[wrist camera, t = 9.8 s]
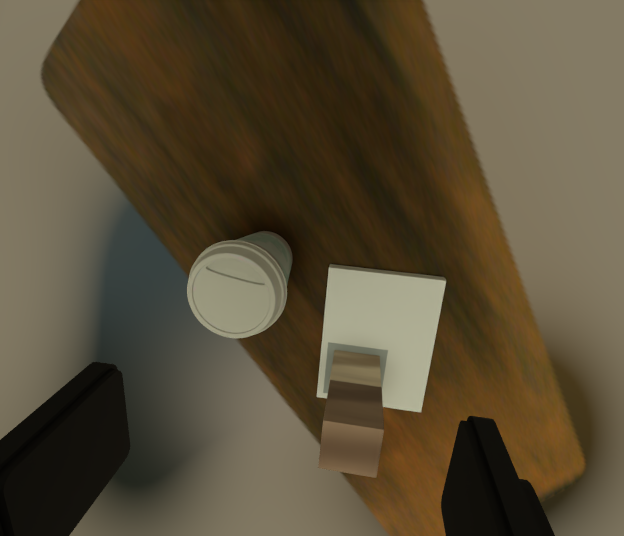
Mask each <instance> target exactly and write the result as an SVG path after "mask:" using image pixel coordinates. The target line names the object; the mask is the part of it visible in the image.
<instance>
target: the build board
mask: <svg viewBox="0 0 624 536" xmlns="http://www.w3.org/2000/svg"><path fill="white" fill-rule="evenodd" d="M445 285H446V279H445V278H444V277H440V276H431V275H422V274H413V273H404V272H395V271H387V270H378V269H369V268H360V267H351V266H343V265H334V264H330V266H329V272H328V282H327V293H326V304H325V314H324V325H323V336H322V346H321V357H320V368H319V378H318V389H317V397H321V398H327V395H328V389H329V381H330V375H331V369H332V363H333V357H334V351H335V350H340V351H348V352H355V353H362V354H370V355H377V356H380V372H381V387H382V402H383V407H388V408H395V409H401V410H408V411H415V412H421V409H422V404H423V399H424V394H425V389H426V383H427V378H428V373H429V368H430V363H431V357H432V352H433V347H434V342H435V337H436V331H437V326H438V321H439V316H440V311H441V305H442V300H443V295H444V290H445Z"/></svg>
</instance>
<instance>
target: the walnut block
mask: <svg viewBox="0 0 624 536" xmlns="http://www.w3.org/2000/svg"><path fill="white" fill-rule="evenodd" d="M383 432H384V422H383V402H382V387H376V386H370V385H363V384H356V383H349V382H342V381H335V380H330V383H329V389H328V395H327V401H326V408H325V414H324V420H323V429H322V438H321V448H320V457H319V468H322V469H328V470H333V471H339V472H345V473H351V474H357V475H363V476H369V477H375V478H376V475H377V469H378V463H379V457H380V451H381V445H382V439H383Z"/></svg>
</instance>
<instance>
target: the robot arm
mask: <svg viewBox="0 0 624 536" xmlns="http://www.w3.org/2000/svg"><path fill="white" fill-rule="evenodd" d="M129 450H130V439H129V431H128V422H127V413H126V404H125V395H124V386H123V378H122V373H121V371H118V369H117V367H116V366H115V365H113V364H107V363H100V362H93V363H92V364H90V365H89V366H87V367H86V368H85V369H84V370H83V371H81V372H80V373H79V374H78V375H77V376H75V378H73V379H72V380H71V381H69V382H68V383H67V384H66V385H65V386H64V387H62V388H61V389H60V390H59V391H58V392H56V393H55V394H54V395H53V396H52V397H51V398H49V399H48V400H47V401H46V402H45V403H43V404H42V405H41V406H40V407H39V408H38V409H36V410H35V411H34V412H33V413H32V414H30V415H29V416H28V417H27V418H26V419H25V420H23V421H22V422H21V423H20V424H19V425H17V426H16V427H15V428H14V429H13V430H12V431H10V432H9V433H8V434H7V435H6V436H4V437H3V438H2V439H1V440H0V536H69V535H70V534H71V532H72V531H73V530H74V528H75V527H76V526H77V524H78V523H79V521H80V520H81V519H82V517H83V516H84V514H85V513H86V512H87V511H88V509H89V508H90V507H91V505H92V504H93V502H94V501H95V500H96V498H97V497H98V496H99V494H100V493H101V492H102V490H103V489H104V487H105V486H106V485H107V484H108V482H109V480H110V479H111V478H112V477H113V475H114V474H115V473H116V471H117V470H118V469H119V467H120V466H121V465H122V463H123V462H124V461H125V459H126V457H127V455H128V453H129ZM441 509H442V516H443V522H444V527H445V532H446V536H555V535H554V533H553V531H552V528H551V526H550V524H549V522H548V519H547V517H546V515H545V513H544V510H543V508H542V506H541V504H540V502H539V499H538V497H537V495H536V493H535V490H534V488H533V487H532V485H531V483H530V482H528V481H527V480H523V479H519V478H518V475H517V473H516V471H515V468H514V466H513V464H512V461H511V459H510V456H509V454H508V452H507V449H506V447H505V445H504V442H503V440H502V437H501V435H500V433H499V430H498V428H497V426H496V423H495V421H494V420H493V419H489V418H482V417H475V416H469V417H468V419H467V421H460V424H459V427H458V432H457V436H456V440H455V444H454V448H453V452H452V457H451V461H450V465H449V469H448V473H447V478H446V482H445V486H444V490H443V494H442V501H441Z"/></svg>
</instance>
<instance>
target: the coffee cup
mask: <svg viewBox="0 0 624 536" xmlns="http://www.w3.org/2000/svg"><path fill="white" fill-rule="evenodd" d="M291 266H292V252H291V249H290V247H289V245H288V243H287V242H286V241H285V240H284V239H283V238H282V237H281V236H279V235H278V234H276V233H273V232H269V231H260V232H256V233H254V234H251V235H248V236H245V237H243V238H240V239H237V240H229V241H223V242H219V243H216V244H214V245H212V246H210V247H209V248H207V249H206V250H205V251H203V252H202V253H201V254H200V256H199V257H198V258H197V260H196V261H195V263H194V264H193V266H192V269H191V271H190V274H189V280H188V285H187V295H188V301H189V304H190V307H191V309H192V311H193V313H194V315H195V316H196V318H197V319H198V320H199V321H200V322H201V323H202V324H203V325H204V326H205V327H206V328H208V329H209V330H210V331H212V332H214V333H216V334H218V335H221V336H224V337H228V338H244V337H249V336H252V335H255V334H258V333H260V332H262V331H264V330H266V329H267V328H268V327H270V326H271V325H272V324H273V323H274V322H275V321H276V320H277V319H278V318H279V316H280V315H281V313H282V311H283V309H284V307H285V304H286V299H287V283H288V278H289V274H290V270H291Z"/></svg>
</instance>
